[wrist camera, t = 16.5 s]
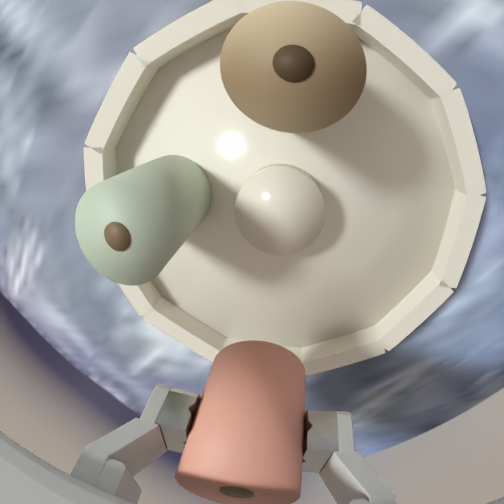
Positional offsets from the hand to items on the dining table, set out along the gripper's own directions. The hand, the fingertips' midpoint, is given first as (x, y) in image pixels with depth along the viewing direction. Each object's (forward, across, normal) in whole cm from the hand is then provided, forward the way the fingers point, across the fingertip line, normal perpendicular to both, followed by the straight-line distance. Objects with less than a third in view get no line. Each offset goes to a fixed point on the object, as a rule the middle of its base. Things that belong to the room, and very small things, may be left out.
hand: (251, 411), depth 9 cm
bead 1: (+7, +5, -5) cm, 10 cm away
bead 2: (+6, 0, -10) cm, 12 cm away
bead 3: (+2, 0, 0) cm, 2 cm away
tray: (+8, 0, -5) cm, 9 cm away
